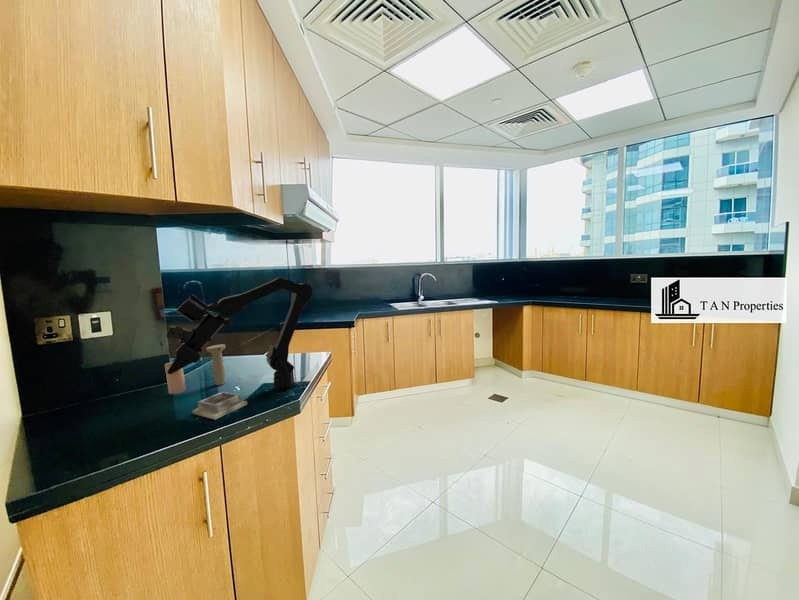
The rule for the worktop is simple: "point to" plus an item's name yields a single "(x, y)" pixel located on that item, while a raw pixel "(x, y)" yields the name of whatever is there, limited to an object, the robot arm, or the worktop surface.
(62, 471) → the worktop surface
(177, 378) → the peg
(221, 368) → the handle
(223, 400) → the socket board
